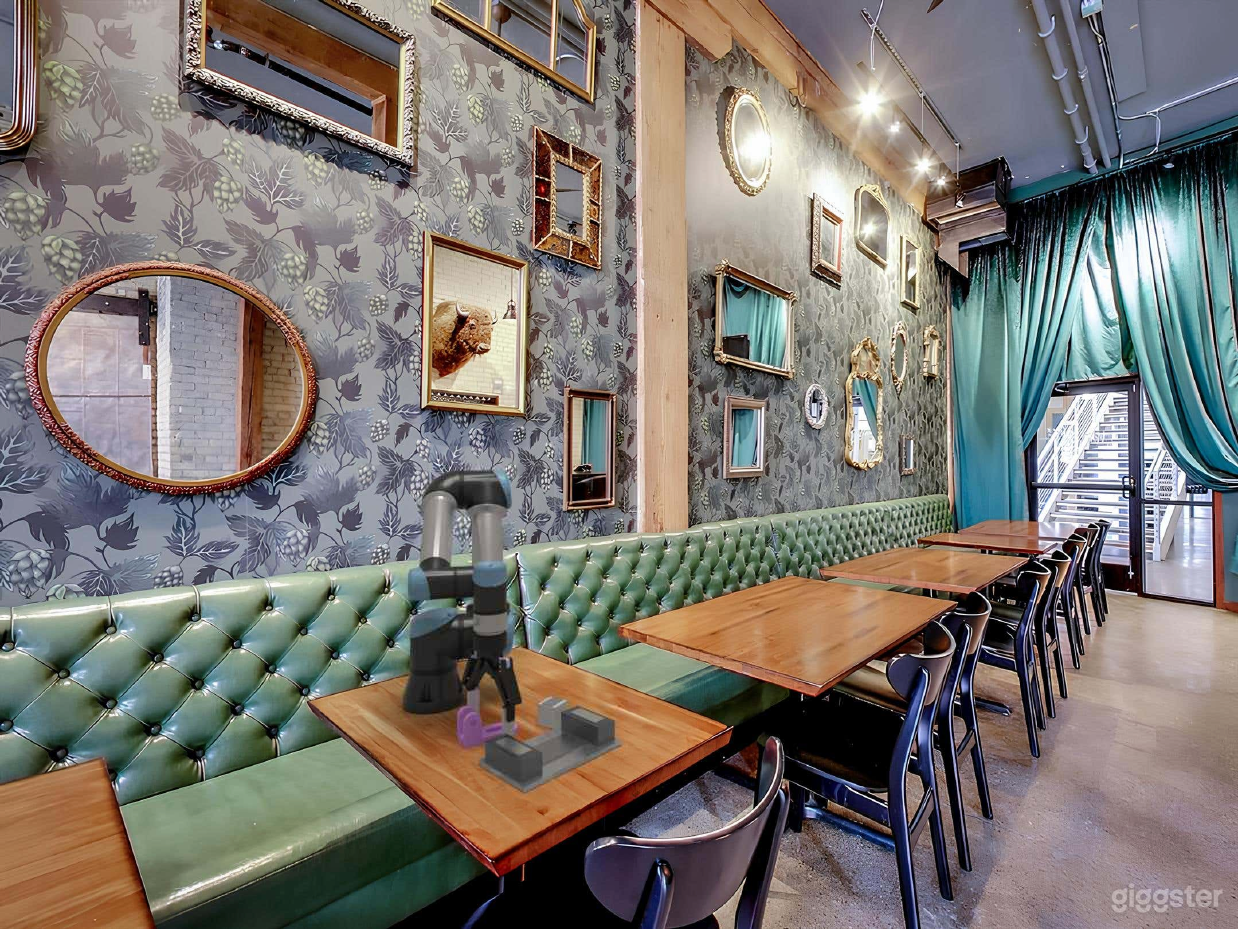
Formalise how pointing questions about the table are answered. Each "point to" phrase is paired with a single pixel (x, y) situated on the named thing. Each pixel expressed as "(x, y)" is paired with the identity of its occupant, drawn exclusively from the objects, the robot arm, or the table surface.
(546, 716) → the block
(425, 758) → the table surface
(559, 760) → the rail board
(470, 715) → the bracket
